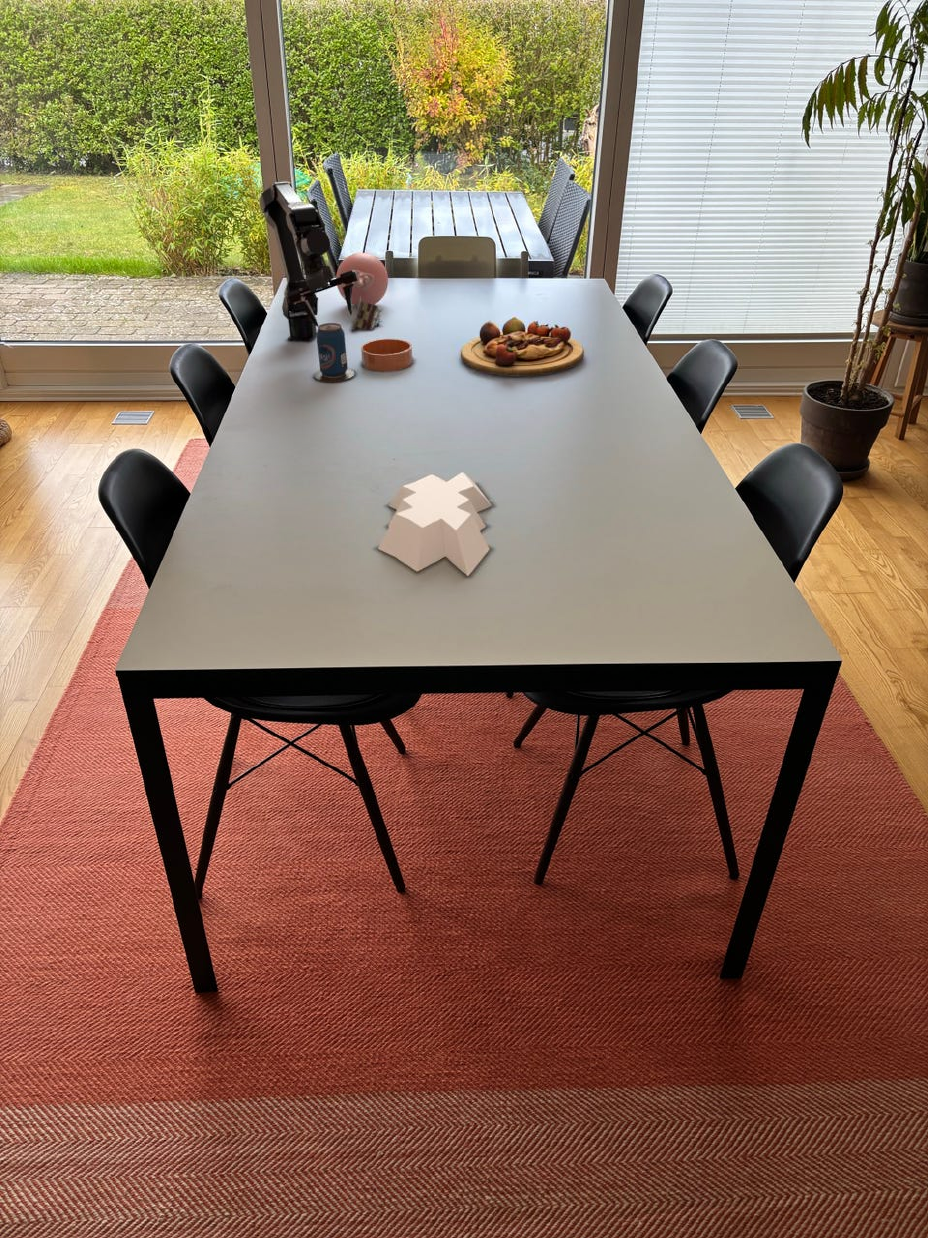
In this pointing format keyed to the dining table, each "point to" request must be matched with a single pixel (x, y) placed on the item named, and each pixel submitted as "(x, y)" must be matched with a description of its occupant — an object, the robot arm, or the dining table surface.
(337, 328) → the soda can
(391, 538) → the tapered cross block
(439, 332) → the dining table surface
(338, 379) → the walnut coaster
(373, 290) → the balloon
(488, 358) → the wooden plate
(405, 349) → the orange bowl
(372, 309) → the chocolate cake
